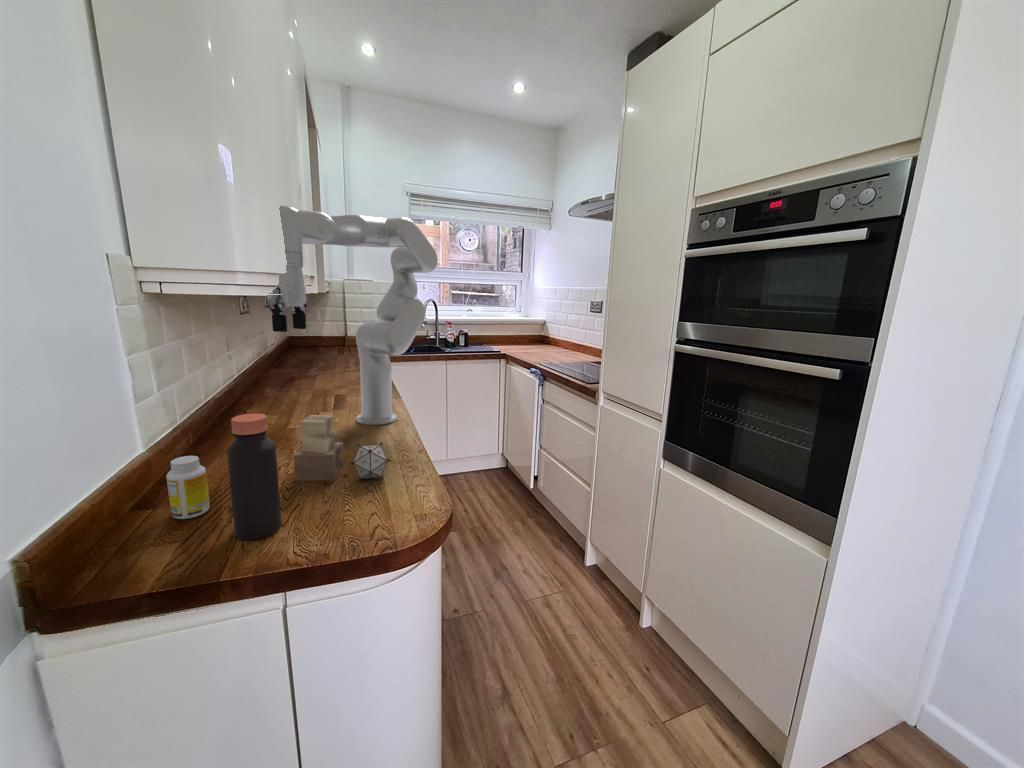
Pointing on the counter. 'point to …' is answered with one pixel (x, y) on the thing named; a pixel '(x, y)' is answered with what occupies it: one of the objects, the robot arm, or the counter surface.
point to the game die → (370, 461)
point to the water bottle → (253, 478)
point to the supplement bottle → (187, 488)
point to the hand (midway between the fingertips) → (290, 330)
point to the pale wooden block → (317, 433)
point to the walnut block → (319, 464)
